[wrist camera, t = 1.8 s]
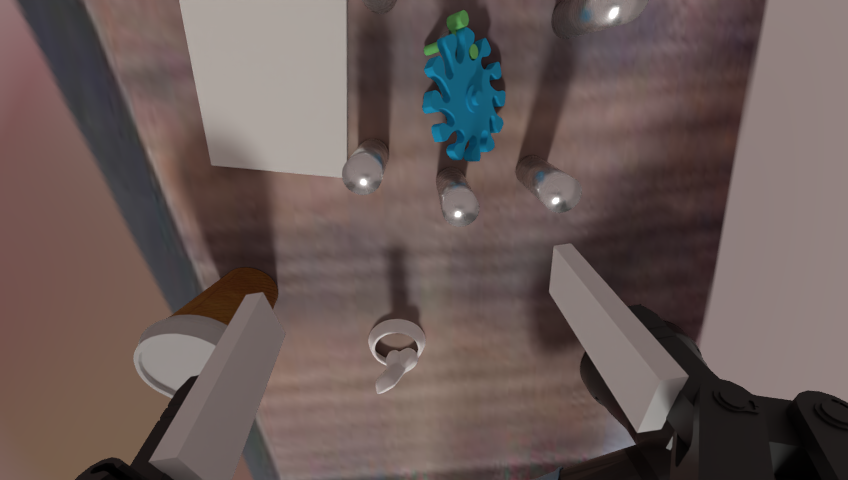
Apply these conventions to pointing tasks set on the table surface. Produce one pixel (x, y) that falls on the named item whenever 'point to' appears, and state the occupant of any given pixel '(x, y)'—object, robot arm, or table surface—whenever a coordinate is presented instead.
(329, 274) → the table surface
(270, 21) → the rubber mat
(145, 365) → the disposable coffee cup
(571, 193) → the spacer posts
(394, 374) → the hook
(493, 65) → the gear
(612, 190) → the table surface
